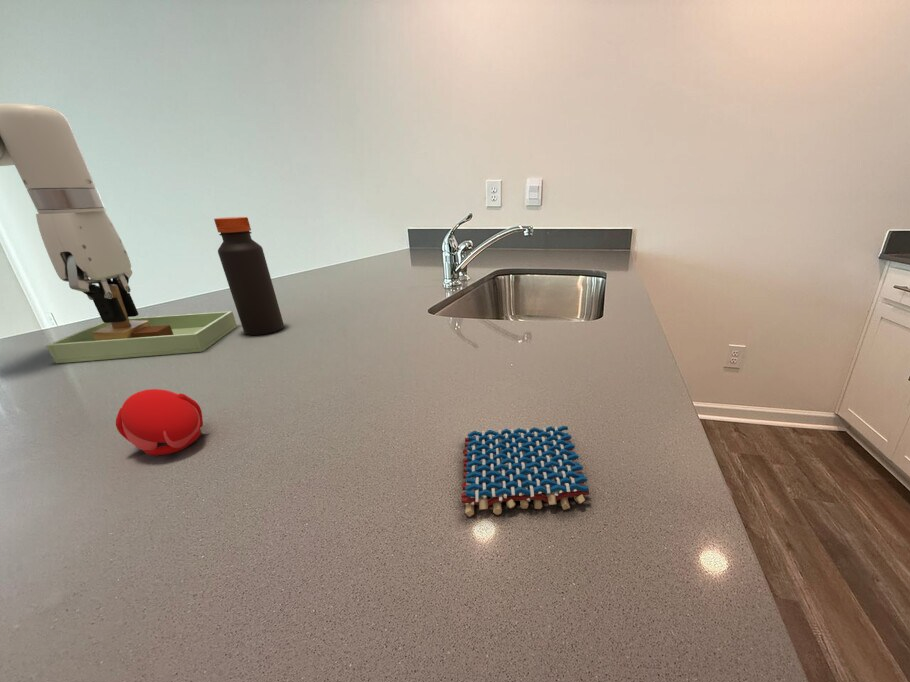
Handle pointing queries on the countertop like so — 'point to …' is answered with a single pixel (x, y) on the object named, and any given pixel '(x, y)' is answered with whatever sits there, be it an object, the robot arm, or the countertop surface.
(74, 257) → the robot arm
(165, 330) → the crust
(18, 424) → the countertop surface
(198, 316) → the tray
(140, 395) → the cap
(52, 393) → the countertop surface
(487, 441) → the woven mat
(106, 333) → the brush
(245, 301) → the bottle
